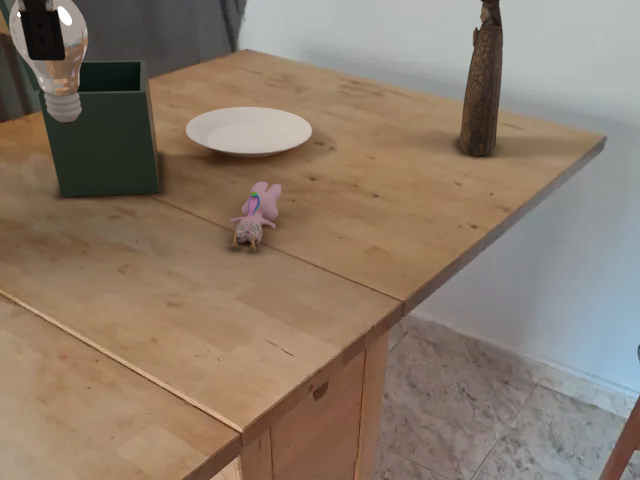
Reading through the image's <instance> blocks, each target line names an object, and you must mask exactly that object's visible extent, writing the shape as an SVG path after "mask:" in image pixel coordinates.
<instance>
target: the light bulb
mask: <svg viewBox="0 0 640 480" xmlns="http://www.w3.org/2000/svg"><path fill="white" fill-rule="evenodd" d="M53 6H54V10H58V14H59V20H60V25H61V31H62V36H63V42H64V47H65V53H66V57H65V59H64V60H63V61H37V60H31V59H30V58H29V56H28V51H27V46H26V42H25V37H24V32H23V28H22V23H21V18H20V14H19V5H18V0H16V1H15V3H14V5H13V7H12V9H11V13H10V19H9V26H10V32H9V34H10V33H11V34H10V37H11V36H12V37H11V40H12V42H13V45H14V46H15V49H16V48H17V49H16V51H17V50H18V51H17V53H18V52H19V53H20V55H21V56H22V57H23V59H24V60H25V61H26V62H27V63H28V65H29V66H30V67H31V69H32V70H33V72H34V73H35V75H36V77H37V80H38V83H39V85H40V87H41V89H42V90H43V91H44V93H45V94H44V97H45V100H46V105H47V111H48V113H49V114H50V115H51V116H52V117H53V118H55V119H56V120H57V121H59V122H60V123H61V124H63V125H70V124H72V123H73V122H74V121H75V120H76V119H77V117H78V116H79V114H80V113H81V111H82V109H81V106H80V104H81V103H80V100H79V94H78V93H77V91H78V88H79V84H80V78H79V73H80V68H81V65H82V62H83V61H85V58H86V55H87V51H88V45H89V30H88V27H87V23H86V20H85V18H84V16H83V14H82V12H81V10H80V9H79V8H78V6H77V5H76V4H75V2H73V0H53Z"/></svg>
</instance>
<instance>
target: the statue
mask: <svg viewBox="0 0 640 480" xmlns="http://www.w3.org/2000/svg"><path fill="white" fill-rule="evenodd" d="M500 1H501V0H480V2H482V4H481V10H480V14H479V19H480V21H481V25H480V28H478V27H477V26H475V27H474V30H473V31H472V46H473V50H472V53H471V54H472V55H471V59H470V64H469V69H468V74H467V80H466V86H465V92H464V97H463V98H464V99H463V106H462V115H461V116H462V117H461V127H460V132H459V133H460V134H459V147H460V148H461V152H464V153H465V154H466V155H469V156H477V157H480V156H486V155H487V154H490V153H491V152H492V150H493V149H494V147H495V146H496V142H497V132H498V131H497V130H498V118H499V117H498V116H499V108H500V99H501V88H502V76H503V75H502V74H503V61H504V60H503V56H504V55H503V51H504V49H503V46H504V32H503V31H504V30H503V22H502V14H501V7H500Z"/></svg>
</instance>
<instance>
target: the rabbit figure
mask: <svg viewBox="0 0 640 480" xmlns="http://www.w3.org/2000/svg"><path fill="white" fill-rule="evenodd" d="M268 186H269V182H267V181H258V182H255V184H254V185H252V187H251V189H250V195H249V197H248V199H247V200H246V202H245V203H243V205H242V206H241V208H240V209H241V213H242V215H243V216H239V217H234V218H231V219H229V223H230V224H235V223H238V224H237V225H236V228H235V231H234V236H233V238H232V239H233V240H232V243H231V247H234V248H233V250H236V247H237V248H239V246H238V244H237V243H239V244H244V243H246V242H249V243H250V244H251V245H250V246H249V248H248V249H249V250H250V249H252V252H253V253H255V250H257V245H259V244H260V243H261V241H262V240H263V226H264V225H266V226H269V227H271V229H276V228H277V226H276V224H275V223H274V222H272V221H274V220H275V219H277V217H278V216H279V211H278V210H279V209H278V207H277V202H278V200H279V199H280V197H281V195H282V187H283V186H282V185H281V184H280V183H274V184H272V185H271V186H270V187H269V189H268Z"/></svg>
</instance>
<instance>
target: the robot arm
mask: <svg viewBox="0 0 640 480" xmlns="http://www.w3.org/2000/svg"><path fill="white" fill-rule="evenodd" d="M18 5H19V14H20V18H21V23H22V28H23V32H24V37H25V42H26V46H27V51H28V56H29V58H30V59H31V60H37V61H63V60H64V59H65V57H66V53H65V47H64V42H63V36H62V31H61V25H60V20H59V14H58V10H54V6H53V0H18Z"/></svg>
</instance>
